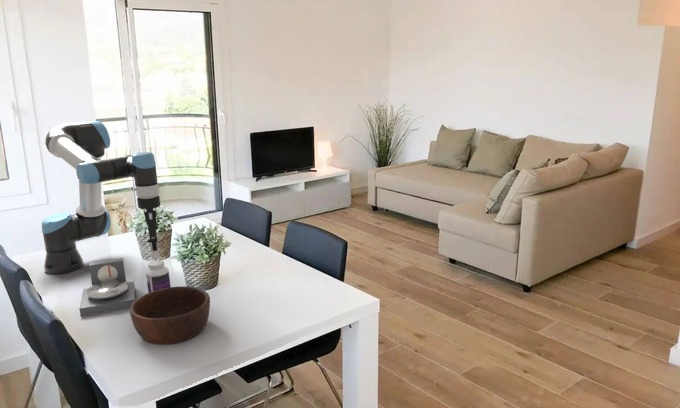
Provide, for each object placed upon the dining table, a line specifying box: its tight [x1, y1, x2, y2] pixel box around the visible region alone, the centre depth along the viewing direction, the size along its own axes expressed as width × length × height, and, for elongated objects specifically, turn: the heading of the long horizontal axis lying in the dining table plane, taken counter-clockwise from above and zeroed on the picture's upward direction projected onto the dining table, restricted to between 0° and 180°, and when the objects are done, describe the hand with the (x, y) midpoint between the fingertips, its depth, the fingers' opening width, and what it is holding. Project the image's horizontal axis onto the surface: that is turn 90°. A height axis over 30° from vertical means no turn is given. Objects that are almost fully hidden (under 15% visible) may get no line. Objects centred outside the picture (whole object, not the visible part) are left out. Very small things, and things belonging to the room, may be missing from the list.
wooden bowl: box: [129, 286, 211, 346], centre depth 176 cm, size 25×25×10 cm
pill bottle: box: [145, 259, 172, 293], centre depth 199 cm, size 8×8×14 cm
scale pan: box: [87, 281, 128, 299], centre depth 198 cm, size 14×14×2 cm
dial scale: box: [78, 257, 136, 317], centre depth 199 cm, size 21×18×12 cm
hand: (155, 252), depth 196 cm, fingers open, 13 cm apart
